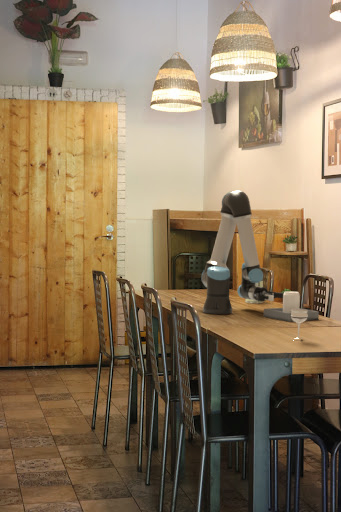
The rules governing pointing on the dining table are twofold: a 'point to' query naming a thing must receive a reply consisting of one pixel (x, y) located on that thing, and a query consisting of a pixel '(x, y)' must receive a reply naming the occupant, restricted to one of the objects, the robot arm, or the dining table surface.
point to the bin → (287, 314)
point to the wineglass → (299, 317)
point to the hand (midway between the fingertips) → (284, 297)
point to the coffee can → (256, 300)
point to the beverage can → (290, 301)
